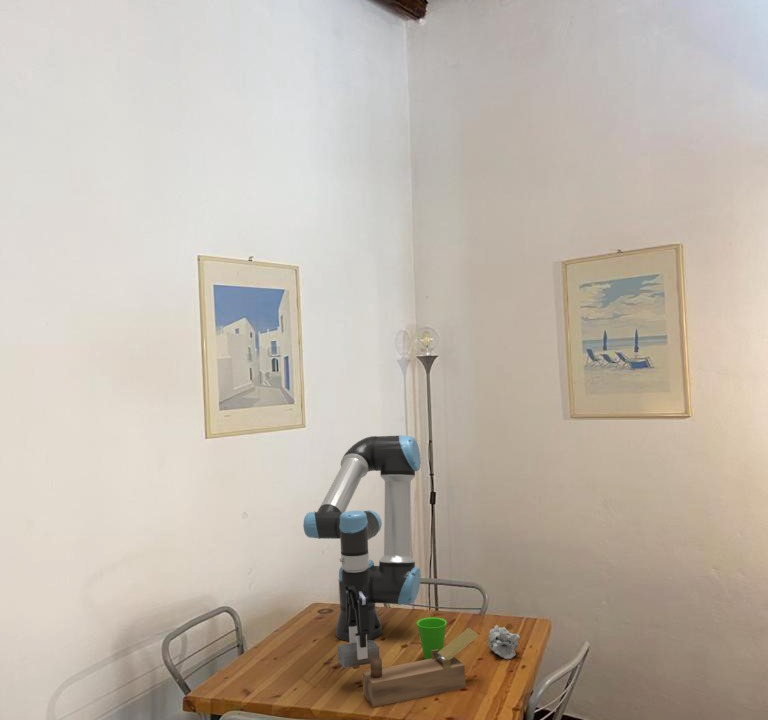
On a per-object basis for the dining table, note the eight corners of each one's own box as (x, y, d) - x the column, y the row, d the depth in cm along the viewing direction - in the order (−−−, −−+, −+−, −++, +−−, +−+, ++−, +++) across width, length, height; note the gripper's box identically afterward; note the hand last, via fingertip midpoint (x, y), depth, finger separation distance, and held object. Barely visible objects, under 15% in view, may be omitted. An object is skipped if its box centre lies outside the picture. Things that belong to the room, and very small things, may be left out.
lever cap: (338, 660, 196) (337, 643, 196) (372, 654, 199) (371, 637, 200) (344, 668, 190) (343, 650, 190) (379, 661, 194) (378, 644, 194)
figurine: (505, 628, 206) (501, 607, 218) (484, 653, 208) (480, 631, 220) (528, 645, 207) (522, 623, 218) (506, 670, 208) (502, 647, 220)
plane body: (363, 694, 189) (362, 656, 189) (452, 676, 198) (450, 640, 198) (373, 707, 181) (371, 667, 182) (465, 687, 190) (463, 649, 191)
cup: (447, 666, 205) (445, 628, 205) (415, 665, 206) (414, 627, 207) (450, 654, 213) (448, 617, 214) (420, 653, 215) (418, 616, 216)
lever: (433, 653, 195) (467, 626, 199) (435, 658, 195) (469, 630, 199) (442, 661, 189) (477, 633, 193) (444, 665, 190) (479, 637, 193)
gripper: (332, 562, 203) (335, 645, 203) (352, 579, 186) (356, 669, 185) (357, 559, 206) (360, 640, 205) (379, 575, 188) (383, 664, 187)
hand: (358, 654), depth 195 cm, fingers closed on lever cap, 6 cm apart
